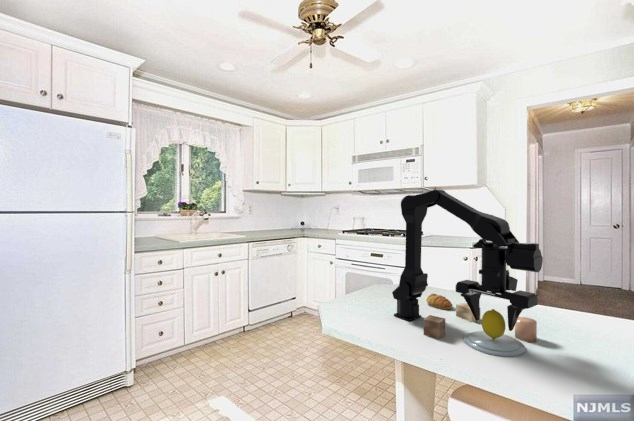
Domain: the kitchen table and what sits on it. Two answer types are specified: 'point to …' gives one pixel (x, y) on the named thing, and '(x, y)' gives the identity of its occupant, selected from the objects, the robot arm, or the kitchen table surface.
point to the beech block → (464, 312)
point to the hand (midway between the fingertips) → (493, 325)
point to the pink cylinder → (526, 329)
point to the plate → (494, 344)
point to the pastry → (439, 302)
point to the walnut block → (434, 326)
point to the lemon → (493, 324)
